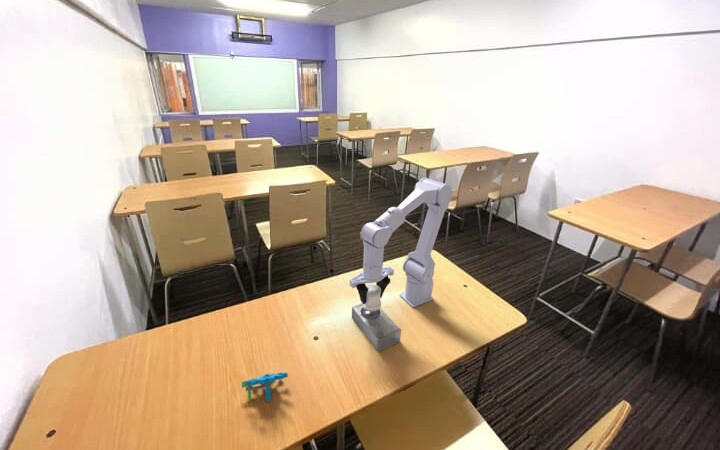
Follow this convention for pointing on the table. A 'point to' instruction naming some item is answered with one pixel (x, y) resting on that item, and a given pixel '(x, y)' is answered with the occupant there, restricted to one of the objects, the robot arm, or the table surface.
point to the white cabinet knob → (373, 298)
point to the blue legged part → (263, 380)
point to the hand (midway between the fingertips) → (371, 299)
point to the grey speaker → (376, 327)
